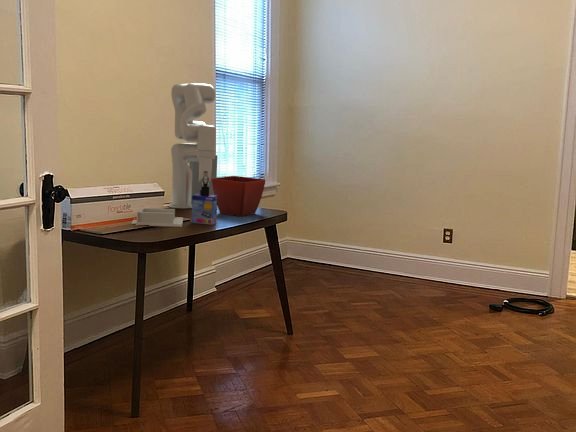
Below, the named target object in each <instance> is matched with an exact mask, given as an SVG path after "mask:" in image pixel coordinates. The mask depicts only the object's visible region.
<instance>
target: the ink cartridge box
mask: <svg viewBox="0 0 576 432" xmlns="http://www.w3.org/2000/svg"><path fill="white" fill-rule="evenodd" d="M191 204H192V208H191V224H198V225H199V224H200V225H201V224H202V225H210V226H211V225H215V224H216V223H217V210H218V206H217V195H209V196H208V197H206V196H201V190H200V194H194V195H192V202H191Z"/></svg>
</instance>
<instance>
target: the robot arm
mask: <svg viewBox="0 0 576 432" xmlns="http://www.w3.org/2000/svg"><path fill="white" fill-rule="evenodd" d="M170 91H171V92H170V93H171V96H170V97H171V102H172V104H173V108H174V136H175V138H176V139H177V140H181V141H186V142H177V143H174V144H173V145H172V146H171V149H170V153H171V162H172V175H171V177H172V178H171V179H172V184H171V185H172V186H171V187H172V189H171V190H172V191H171V202H170V203H168V208H171V209H192V202H191V196H192V170H191V169H190V167H189V164H190V163H199V182H200V180H202V187H201V196H206V197H208V196H209V182H210V180H211V172H212V159H215V155H216V139H217V138H216V136H217V135H216V134H217V131H216V130H217V128H216V126H215V125H211V124H207V123H205V122H204V121H199V120H196V119H199V118H201V117H203V116H204V115H205V114H206V112H207V106H206V104H213V103H214V101H215V100H216V90H215V88H214V87H213V85H212V84H208V83H196V82H193V83H192V82H191V83H177V84H174V85H173V86H172V87H171V90H170ZM191 142H193V143H191ZM188 163H189V164H188Z"/></svg>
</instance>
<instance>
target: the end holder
mask: <svg viewBox="0 0 576 432" xmlns="http://www.w3.org/2000/svg"><path fill="white" fill-rule="evenodd" d="M143 208H144V209H140V208H139V210H138V211H137V214H136V216H137V220H134V219H133V220H132V222H131V225H132V224H136V225H135V226H138V225H149V226H148V227H175V228H176V227H178V228H179V227H181V228H182V226H183V221H184V217H182V216H181V217H176V208H153V207H152V208H150V207H143Z"/></svg>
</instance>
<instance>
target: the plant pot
mask: <svg viewBox="0 0 576 432" xmlns="http://www.w3.org/2000/svg"><path fill="white" fill-rule="evenodd" d="M265 185H266V179H263V178H255V177H248V176H240V175H239V176H238V175H229V176H221V177H220V176H219V177H218V176H217V178H212V186H213V191H214V195H217V210H218V212H219V214H223V215H229V216H234V215H236V216H237V217H246V216H250V215H254V214H256V212H257V210H258V208H259V205H260V202H261V199H262V196H263V193H264V189H265ZM253 213H254V214H253ZM245 215H246V216H245ZM236 216H235V217H236Z"/></svg>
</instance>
